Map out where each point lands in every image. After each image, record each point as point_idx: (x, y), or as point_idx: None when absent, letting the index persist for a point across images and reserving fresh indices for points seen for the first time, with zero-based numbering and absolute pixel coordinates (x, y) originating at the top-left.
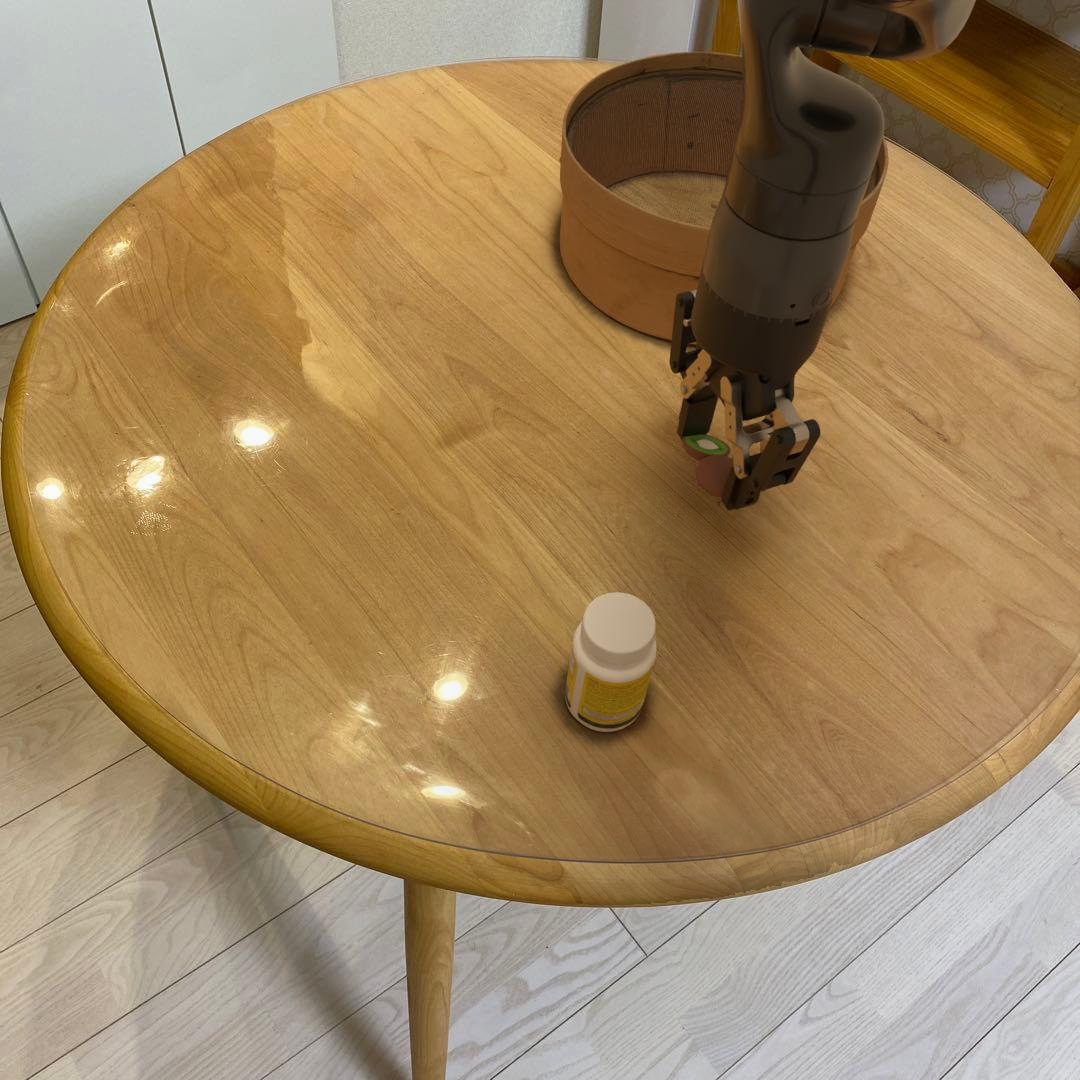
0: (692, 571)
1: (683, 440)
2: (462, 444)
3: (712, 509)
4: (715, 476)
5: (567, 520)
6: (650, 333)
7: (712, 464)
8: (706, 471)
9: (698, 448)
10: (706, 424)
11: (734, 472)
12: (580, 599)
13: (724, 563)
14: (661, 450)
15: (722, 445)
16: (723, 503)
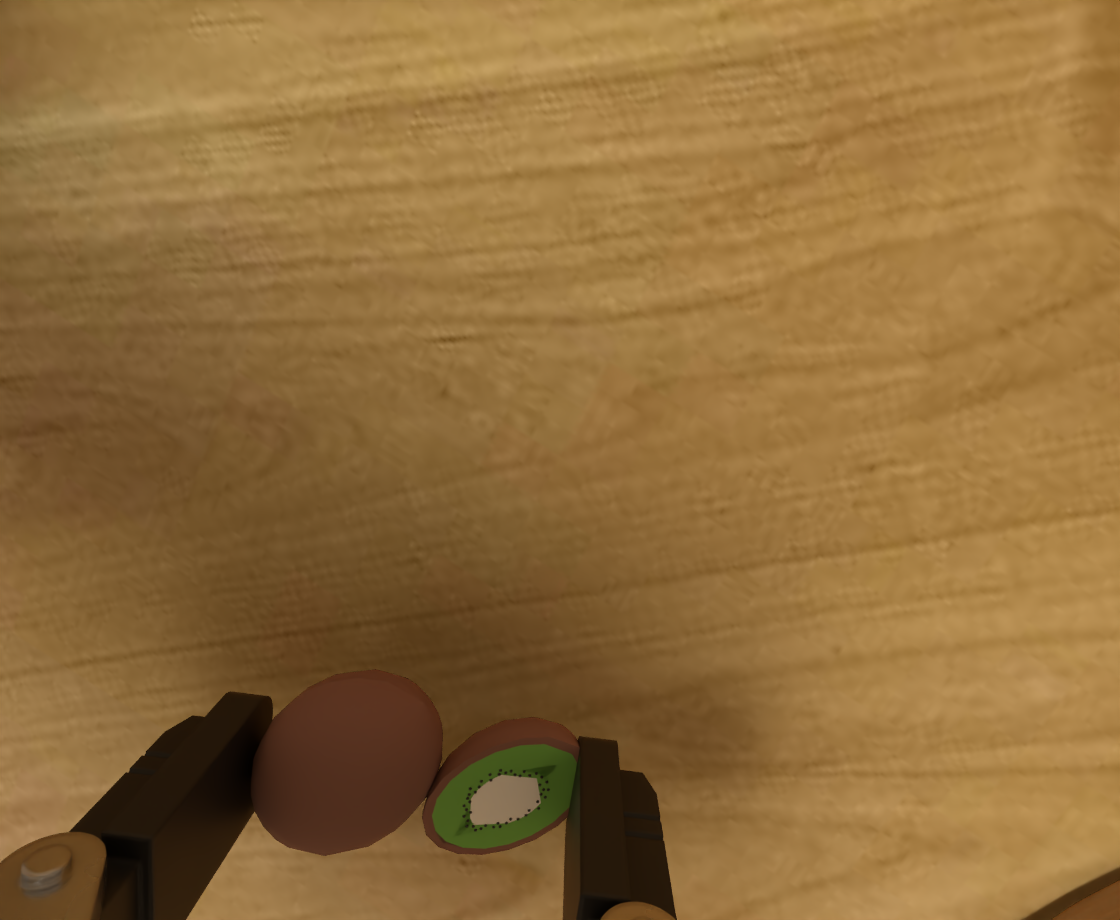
0: (212, 481)
1: (555, 741)
2: (1069, 41)
3: (394, 661)
4: (305, 744)
5: (555, 227)
6: (1099, 897)
7: (349, 768)
8: (345, 729)
9: (491, 765)
10: (566, 856)
11: (120, 833)
12: (241, 87)
13: (204, 579)
14: (664, 659)
15: (481, 840)
16: (244, 696)
